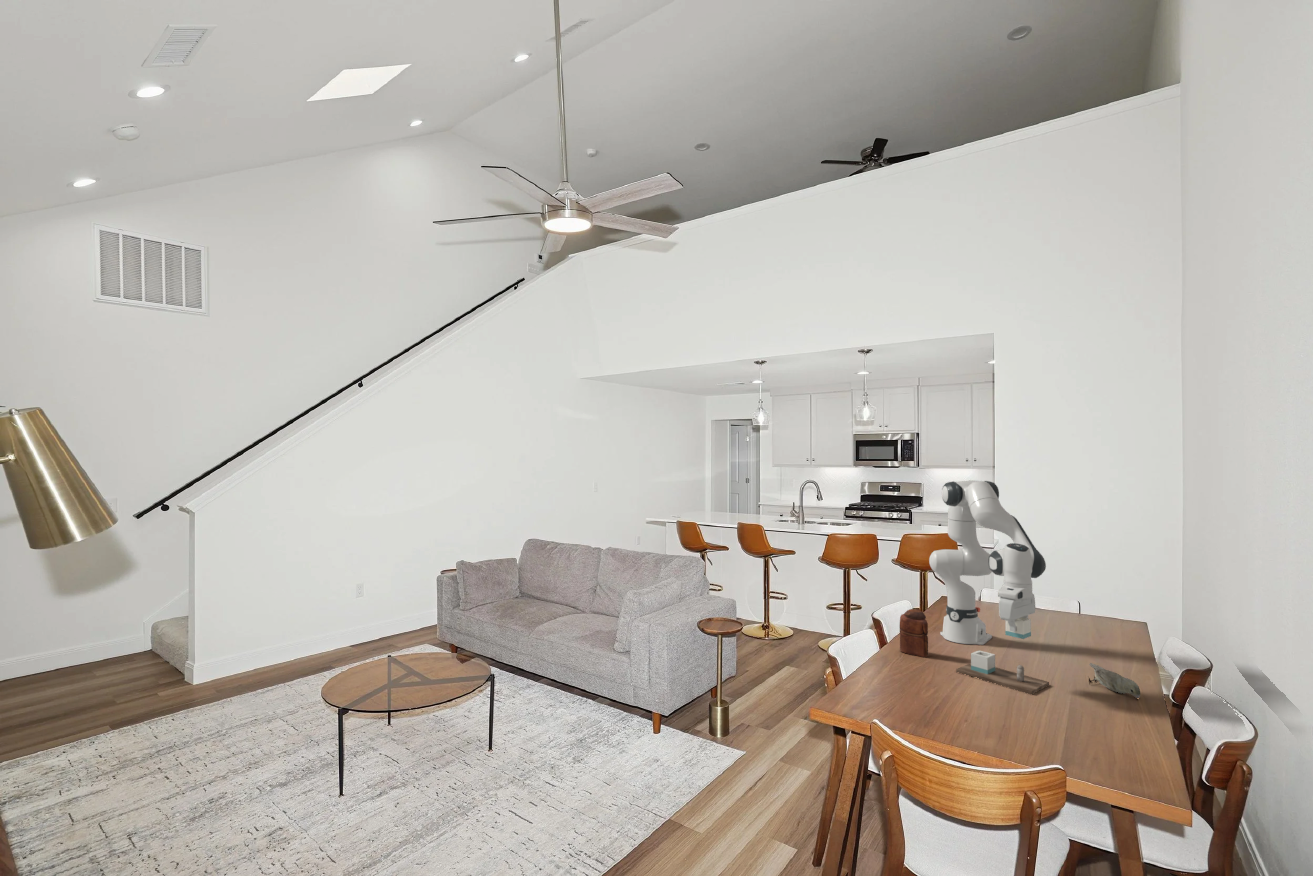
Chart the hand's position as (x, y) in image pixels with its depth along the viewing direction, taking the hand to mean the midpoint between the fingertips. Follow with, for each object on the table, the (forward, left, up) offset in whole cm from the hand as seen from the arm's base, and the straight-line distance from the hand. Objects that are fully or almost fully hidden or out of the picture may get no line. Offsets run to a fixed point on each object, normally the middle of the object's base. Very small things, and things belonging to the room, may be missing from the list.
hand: (1018, 629), depth 221 cm
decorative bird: (-20, +23, -20) cm, 36 cm away
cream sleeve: (0, 0, -2) cm, 2 cm away
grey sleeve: (0, -13, -18) cm, 22 cm away
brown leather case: (0, -40, -20) cm, 45 cm away
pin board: (0, -6, -19) cm, 20 cm away
